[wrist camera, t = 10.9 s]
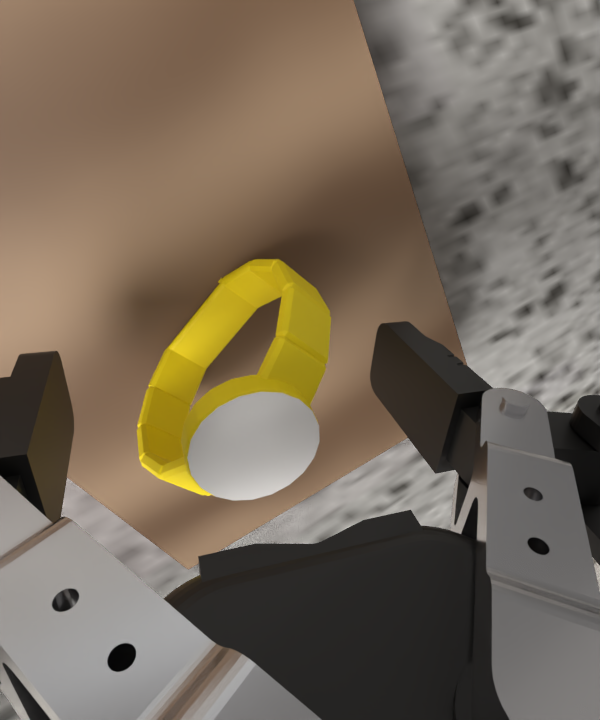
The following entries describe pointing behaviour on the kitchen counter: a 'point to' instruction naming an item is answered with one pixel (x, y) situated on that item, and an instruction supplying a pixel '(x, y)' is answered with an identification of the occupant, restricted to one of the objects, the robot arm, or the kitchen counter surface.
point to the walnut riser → (200, 223)
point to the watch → (239, 391)
